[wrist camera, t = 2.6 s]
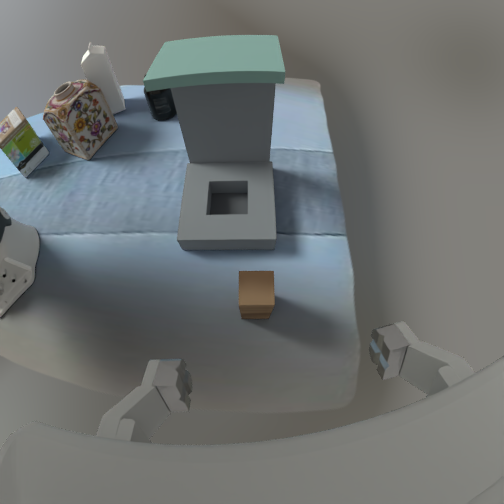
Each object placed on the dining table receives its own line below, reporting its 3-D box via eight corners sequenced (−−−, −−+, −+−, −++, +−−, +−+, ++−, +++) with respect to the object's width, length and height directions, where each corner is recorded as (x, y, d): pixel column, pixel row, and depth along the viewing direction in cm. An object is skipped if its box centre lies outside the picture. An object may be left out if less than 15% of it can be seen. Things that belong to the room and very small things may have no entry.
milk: (124, 99, 62) (102, 35, 41) (125, 109, 60) (101, 42, 39) (104, 107, 61) (79, 46, 40) (105, 118, 59) (76, 54, 38)
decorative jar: (120, 127, 57) (95, 71, 40) (89, 162, 53) (55, 107, 36) (92, 121, 59) (67, 72, 42) (64, 152, 55) (32, 104, 38)
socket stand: (274, 249, 45) (299, 115, 19) (182, 249, 45) (116, 126, 19) (270, 167, 51) (281, 35, 26) (192, 168, 51) (161, 42, 26)
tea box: (51, 153, 55) (25, 117, 41) (26, 179, 52) (-4, 146, 39) (38, 136, 59) (16, 104, 45) (15, 159, 56) (-9, 130, 42)
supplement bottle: (184, 105, 59) (175, 66, 48) (170, 123, 56) (159, 82, 45) (161, 103, 60) (150, 66, 49) (147, 120, 57) (133, 82, 46)
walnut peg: (268, 318, 41) (274, 304, 31) (241, 318, 41) (238, 305, 31) (268, 292, 42) (273, 270, 32) (241, 293, 42) (238, 271, 32)
